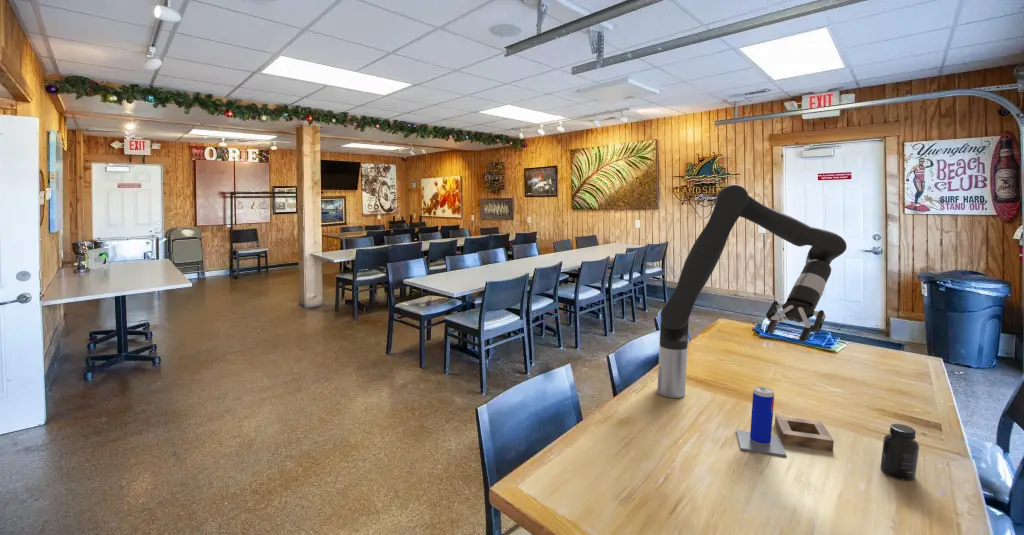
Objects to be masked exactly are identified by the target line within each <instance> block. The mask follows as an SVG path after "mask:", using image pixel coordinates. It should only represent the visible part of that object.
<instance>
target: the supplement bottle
mask: <svg viewBox="0 0 1024 535" xmlns="http://www.w3.org/2000/svg"><path fill="white" fill-rule="evenodd" d="M916 431H917V430H916V429H914V428H912V427H911V426H908V425H906V424H901V423H893V424H892V423H891V425H890V428H889V433H887V434H886V435H884V437H883V440H882V442H883V443H882V449H881V450H882V451H881V452H882V453H881V460H880V469H881V471H882V472H883V473H884V474H886V475H887V476H889V477H891V476H892V478H894V477H895V478H894V479H897V478H898V480H901V479H904V480H903V481H911V480H914V479H915V478H916V474H917V468H918V460H919V453H920V444H919V442H918V441H917V440H916Z"/></svg>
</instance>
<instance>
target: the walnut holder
mask: <svg viewBox="0 0 1024 535" xmlns="http://www.w3.org/2000/svg"><path fill="white" fill-rule="evenodd" d="M774 426H775V429H776V432H777V434H778V436H779V438H780V441H781V443H782V445H788V446H795V447H803V448H809V449H815V450H823V451H830V452H834V444H835V443H834V442H835V440H834V439H833V437H832V435H831V434H830V432H829V431H828V429H827V428H826V426H825V425H824V423H823V421H819V420H811V419H805V418H798V417H789V416H783V415H775V418H774Z"/></svg>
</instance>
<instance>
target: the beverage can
mask: <svg viewBox="0 0 1024 535" xmlns="http://www.w3.org/2000/svg"><path fill="white" fill-rule="evenodd" d="M751 402H752V404H751V418H750V431H749V432H750V439H751V440H752V441H753V442H754V443H756V444H759V445H768V444H769V443H770V442H771V435H772V433H773V432H772V431H773V417H774V416H773V415H774V404H775V391H774V390H773V389H772V388H769V387H764V386H756V387H754V389H753V391H752V401H751Z"/></svg>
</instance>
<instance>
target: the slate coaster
mask: <svg viewBox="0 0 1024 535" xmlns="http://www.w3.org/2000/svg"><path fill="white" fill-rule="evenodd" d="M735 433H736V436H737V441H738V445H739V450H740V451H744V452H745V451H746V452H752V453H757V454H765V455H771V456H776V457H777V456H778V457H782V458H783V457H785V458H787V453H786V451H785V448H784V444H783V443H782V441H781V439H780V436H779V435H776V434H771V442H770V443H769V444H768V445H759V444H756V443H754V442H753V441H752V440H751V439H750V431H748V430H740V429H736V430H735Z"/></svg>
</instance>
